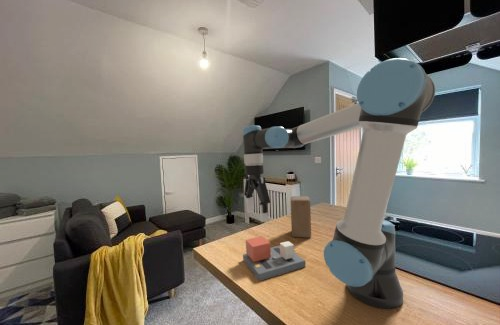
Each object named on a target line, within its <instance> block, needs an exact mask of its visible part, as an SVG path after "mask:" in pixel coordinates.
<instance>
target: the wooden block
mask: <svg viewBox="0 0 500 325" xmlns="http://www.w3.org/2000/svg"><path fill="white" fill-rule="evenodd" d="M309 197H310V196H307V195H306V196H305V195H303V196H301V195H299V196H290V219H291V220H290V222H291V223H290V224H291V236H292V237H293V238H306V239H308V238H312V222H311V221H312V217H311V216H312V215H311V214H312V213H311V200H310V198H309Z"/></svg>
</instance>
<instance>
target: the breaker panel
mask: <svg viewBox="0 0 500 325" xmlns="http://www.w3.org/2000/svg"><path fill="white" fill-rule="evenodd" d="M270 249H271V258H267V259H263V260H260V261H256V262H253V261H252V260H251V259H250V257H249V256H248V255H247V254H246V253H243V254H242V261H243V262H244V263H245V265H246V266H247V267H248V268H249V270H250V271H251V273H253V275H254V276H255V278H256V279H257V280H258V281H259V282H261V281H263V280H267V279H270V278H274V277H277V276H280V275H284V274H287V273H290V272H292V271H296V270H300V269H303V268H306V260H305V259H304V258H303V257H301V256H300V255H299V254H297V253H296V252H294V257H293V258H290V259H284V258H283V257H282V256H281V255H280V245H277V246H272V247H270Z"/></svg>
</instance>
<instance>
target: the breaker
mask: <svg viewBox="0 0 500 325" xmlns="http://www.w3.org/2000/svg"><path fill="white" fill-rule="evenodd" d="M279 246H280V255H281V256H282V257H283V258H284V259H290V258H293V257H294V253H295V245H294V244H293V243H292V242H290V241H289V240H288V241H282V242H279Z"/></svg>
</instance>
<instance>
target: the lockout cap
mask: <svg viewBox="0 0 500 325" xmlns="http://www.w3.org/2000/svg"><path fill="white" fill-rule="evenodd" d="M270 248H271V242H270V241H268V240H267V239H266V238H265V237H264V236H257V237H252V238H248V239H245V252H246V253H245V254H247V255H248V256H249V257H250V259H251V260H252V261H253V262H256V261H260V260H263V259H267V258H271V249H270Z"/></svg>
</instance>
